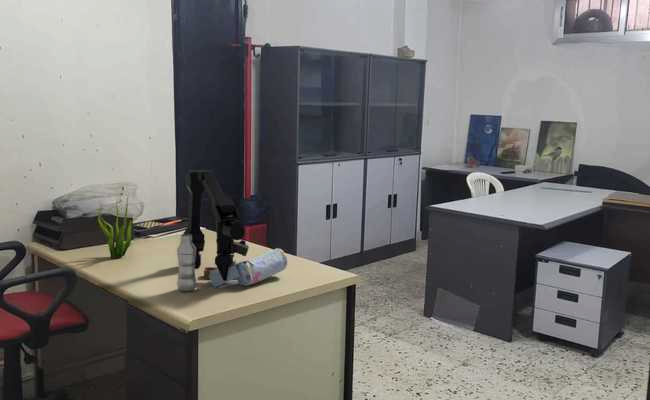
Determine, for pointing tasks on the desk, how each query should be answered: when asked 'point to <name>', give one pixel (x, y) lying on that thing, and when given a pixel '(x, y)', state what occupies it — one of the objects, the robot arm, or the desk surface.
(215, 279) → the cover
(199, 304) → the desk surface
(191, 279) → the plastic bottle
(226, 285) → the mat
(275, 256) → the pencil case
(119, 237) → the decorative plant
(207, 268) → the tray
